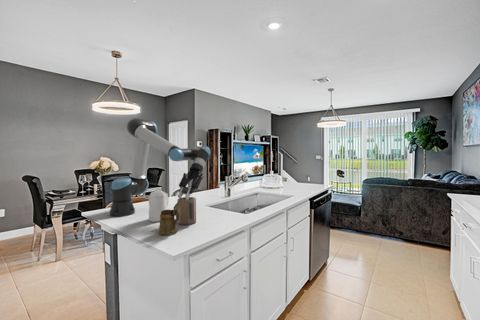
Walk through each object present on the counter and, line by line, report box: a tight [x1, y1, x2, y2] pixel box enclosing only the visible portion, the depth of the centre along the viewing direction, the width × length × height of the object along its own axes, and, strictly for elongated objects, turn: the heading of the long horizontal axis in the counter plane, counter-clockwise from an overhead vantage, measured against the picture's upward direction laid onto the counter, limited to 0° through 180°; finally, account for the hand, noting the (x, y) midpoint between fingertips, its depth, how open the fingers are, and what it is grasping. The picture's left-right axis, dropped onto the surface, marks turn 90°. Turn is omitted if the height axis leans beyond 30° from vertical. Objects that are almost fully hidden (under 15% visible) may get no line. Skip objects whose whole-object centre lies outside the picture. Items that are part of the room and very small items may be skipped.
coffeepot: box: [144, 188, 169, 223], centre depth 141 cm, size 11×25×19 cm, turn 168°
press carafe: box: [176, 196, 197, 226], centre depth 134 cm, size 12×10×14 cm
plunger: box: [183, 186, 190, 200], centre depth 135 cm, size 6×6×18 cm
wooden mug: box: [157, 199, 183, 237], centre depth 117 cm, size 9×14×18 cm, turn 73°
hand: (182, 197), depth 131 cm, fingers closed on plunger, 4 cm apart
